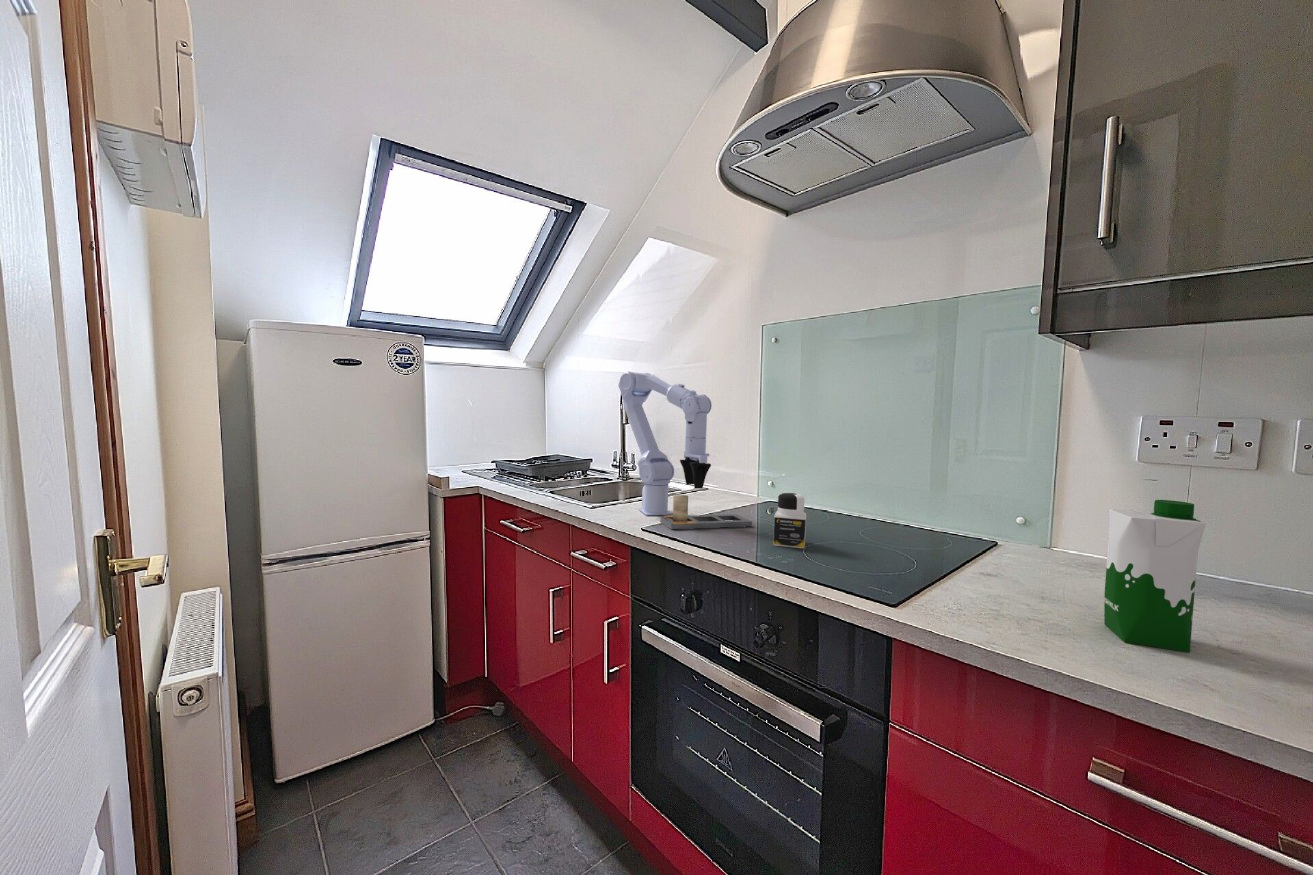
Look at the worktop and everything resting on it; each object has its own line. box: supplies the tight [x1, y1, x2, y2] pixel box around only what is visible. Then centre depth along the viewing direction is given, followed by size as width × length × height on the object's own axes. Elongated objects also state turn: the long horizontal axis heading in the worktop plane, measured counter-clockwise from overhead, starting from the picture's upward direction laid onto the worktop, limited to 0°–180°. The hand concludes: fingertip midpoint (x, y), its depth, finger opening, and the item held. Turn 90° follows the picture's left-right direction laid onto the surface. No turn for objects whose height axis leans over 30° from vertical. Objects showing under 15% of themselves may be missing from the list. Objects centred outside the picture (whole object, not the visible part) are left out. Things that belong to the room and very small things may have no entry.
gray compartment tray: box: [659, 513, 753, 530], centre depth 143 cm, size 10×23×2 cm, turn 106°
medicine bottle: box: [772, 492, 807, 549], centre depth 125 cm, size 7×7×12 cm
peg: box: [672, 494, 689, 522], centre depth 141 cm, size 4×4×8 cm
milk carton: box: [1103, 499, 1206, 653], centre depth 75 cm, size 9×9×20 cm
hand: (694, 486), depth 147 cm, fingers open, 7 cm apart
